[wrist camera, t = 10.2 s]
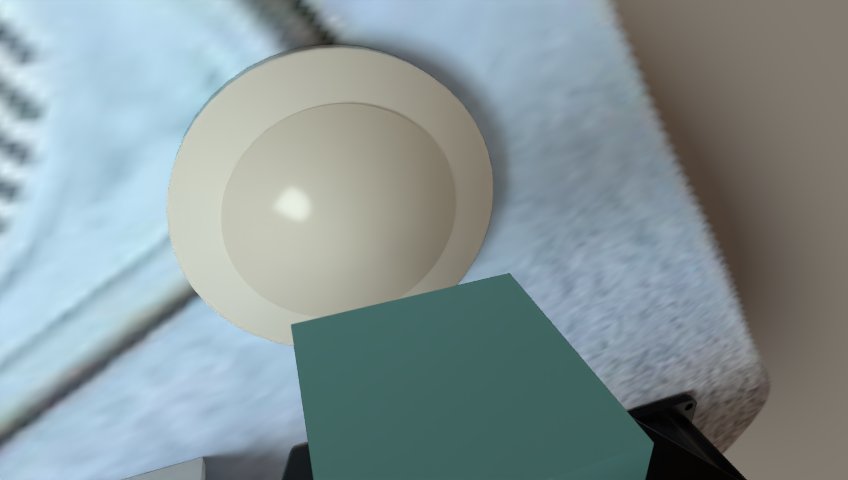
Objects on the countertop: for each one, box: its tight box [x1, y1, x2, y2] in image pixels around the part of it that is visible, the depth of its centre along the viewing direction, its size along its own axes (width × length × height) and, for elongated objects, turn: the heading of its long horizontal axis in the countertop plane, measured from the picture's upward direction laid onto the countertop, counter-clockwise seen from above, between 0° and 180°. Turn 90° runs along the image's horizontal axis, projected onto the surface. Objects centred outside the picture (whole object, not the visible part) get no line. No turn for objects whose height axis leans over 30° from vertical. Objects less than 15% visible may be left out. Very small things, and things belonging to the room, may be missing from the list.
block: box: [291, 273, 654, 480], centre depth 9 cm, size 4×4×4 cm
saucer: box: [167, 44, 493, 346], centre depth 17 cm, size 10×10×1 cm
